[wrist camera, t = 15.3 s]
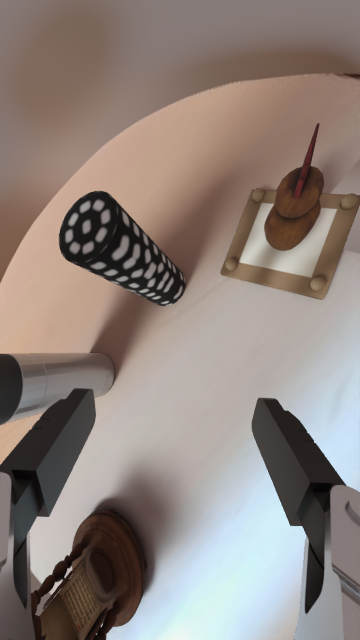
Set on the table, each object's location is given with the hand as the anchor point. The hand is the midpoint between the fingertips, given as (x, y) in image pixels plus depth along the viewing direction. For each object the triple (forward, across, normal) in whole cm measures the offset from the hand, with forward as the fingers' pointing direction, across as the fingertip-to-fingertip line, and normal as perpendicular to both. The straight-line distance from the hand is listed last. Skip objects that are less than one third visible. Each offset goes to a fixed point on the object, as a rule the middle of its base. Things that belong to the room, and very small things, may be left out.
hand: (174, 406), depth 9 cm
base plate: (+27, -17, -10) cm, 33 cm away
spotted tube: (+32, +2, 0) cm, 32 cm away
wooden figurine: (+26, -17, -10) cm, 33 cm away
